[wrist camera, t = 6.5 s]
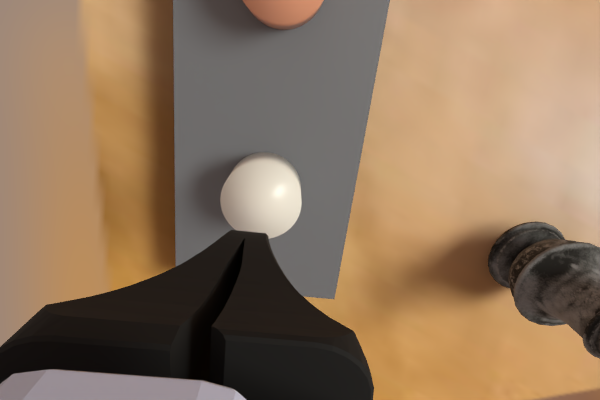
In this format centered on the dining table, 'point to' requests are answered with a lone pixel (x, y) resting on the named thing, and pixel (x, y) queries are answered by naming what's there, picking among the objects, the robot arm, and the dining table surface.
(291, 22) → the knob
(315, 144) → the control board
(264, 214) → the knob
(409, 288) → the dining table surface
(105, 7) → the dining table surface
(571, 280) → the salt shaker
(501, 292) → the dining table surface
